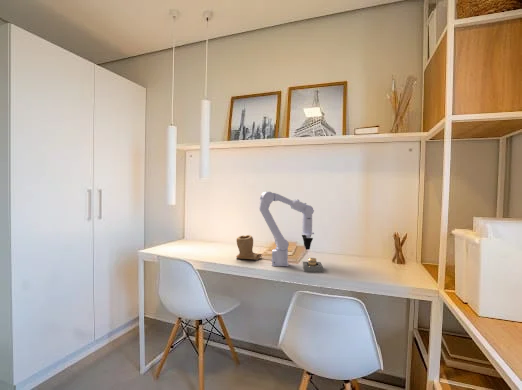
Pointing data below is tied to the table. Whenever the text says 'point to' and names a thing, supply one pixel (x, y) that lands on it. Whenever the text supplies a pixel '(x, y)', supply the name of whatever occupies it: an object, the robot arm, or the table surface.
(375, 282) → the table surface
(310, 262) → the piston
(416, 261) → the table surface
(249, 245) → the brown boot
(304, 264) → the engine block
